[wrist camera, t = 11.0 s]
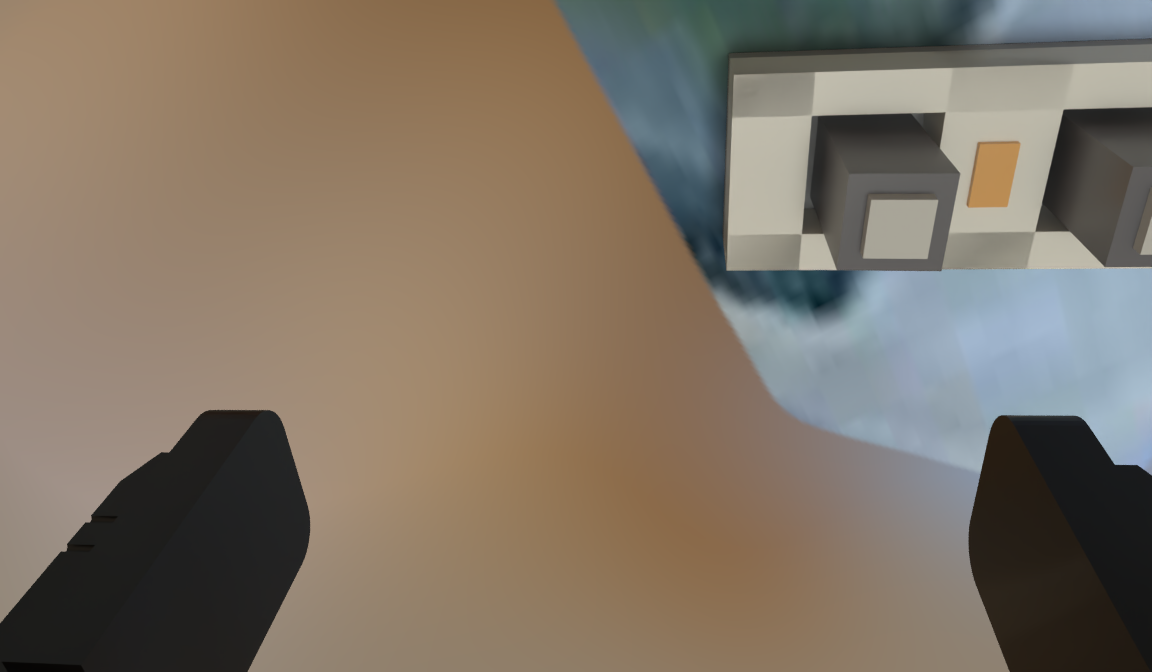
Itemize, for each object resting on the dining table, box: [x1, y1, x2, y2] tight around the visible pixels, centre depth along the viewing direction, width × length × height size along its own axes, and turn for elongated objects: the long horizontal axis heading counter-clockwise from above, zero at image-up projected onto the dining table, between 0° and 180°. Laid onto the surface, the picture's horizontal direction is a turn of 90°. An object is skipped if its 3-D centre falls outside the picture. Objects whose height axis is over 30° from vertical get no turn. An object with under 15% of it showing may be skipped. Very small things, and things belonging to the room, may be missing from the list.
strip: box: [723, 39, 1152, 270], centre depth 38 cm, size 22×9×4 cm, turn 93°
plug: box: [810, 113, 961, 271], centre depth 36 cm, size 4×4×9 cm
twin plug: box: [1042, 107, 1152, 267], centre depth 35 cm, size 4×4×9 cm
